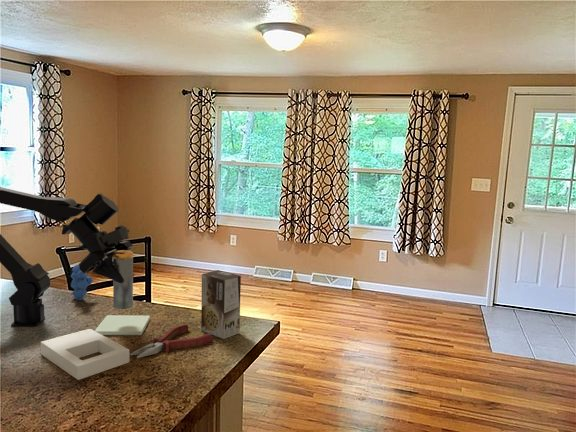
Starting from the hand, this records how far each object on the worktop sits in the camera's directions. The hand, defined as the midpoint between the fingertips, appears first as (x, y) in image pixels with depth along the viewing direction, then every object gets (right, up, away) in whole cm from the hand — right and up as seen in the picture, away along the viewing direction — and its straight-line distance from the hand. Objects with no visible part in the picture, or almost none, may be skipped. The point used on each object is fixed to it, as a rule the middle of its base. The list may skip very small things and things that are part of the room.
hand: (127, 279), depth 127 cm
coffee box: (+25, -15, +1) cm, 29 cm away
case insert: (-4, -16, -18) cm, 24 cm away
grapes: (-22, -10, +23) cm, 33 cm away
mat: (-2, -13, +2) cm, 13 cm away
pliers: (+13, -16, -7) cm, 22 cm away
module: (-2, -7, +1) cm, 8 cm away
